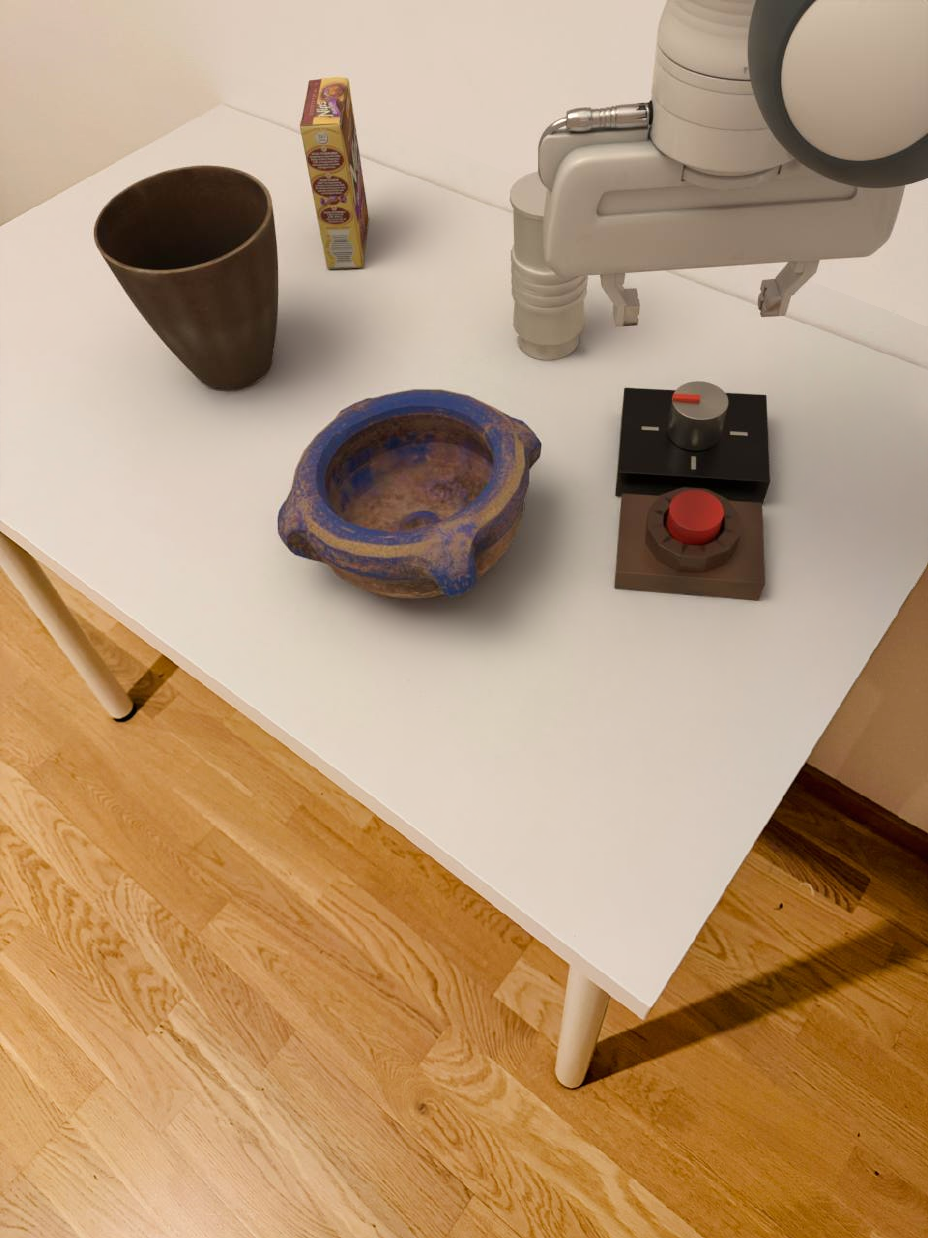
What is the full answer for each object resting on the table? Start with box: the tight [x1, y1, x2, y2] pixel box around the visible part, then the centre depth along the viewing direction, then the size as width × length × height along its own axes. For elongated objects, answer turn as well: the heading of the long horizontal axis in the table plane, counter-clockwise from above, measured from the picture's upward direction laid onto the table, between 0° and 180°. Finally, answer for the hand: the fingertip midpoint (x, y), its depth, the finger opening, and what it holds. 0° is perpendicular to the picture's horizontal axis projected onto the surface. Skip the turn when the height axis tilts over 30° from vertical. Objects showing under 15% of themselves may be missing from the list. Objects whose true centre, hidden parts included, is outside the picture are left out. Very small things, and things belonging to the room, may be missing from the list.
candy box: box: [299, 76, 370, 270], centre depth 92 cm, size 9×4×15 cm, turn 179°
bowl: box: [277, 388, 542, 599], centre depth 70 cm, size 18×18×10 cm
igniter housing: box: [613, 487, 766, 601], centre depth 70 cm, size 11×8×4 cm
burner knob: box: [667, 380, 728, 451], centre depth 74 cm, size 4×4×4 cm
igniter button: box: [667, 490, 724, 545], centre depth 68 cm, size 4×4×2 cm
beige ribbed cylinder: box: [509, 171, 589, 361], centre depth 81 cm, size 7×7×15 cm
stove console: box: [614, 387, 771, 507], centre depth 76 cm, size 12×10×3 cm
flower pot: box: [93, 164, 279, 392], centre depth 82 cm, size 15×15×16 cm
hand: (697, 315), depth 59 cm, fingers open, 8 cm apart
